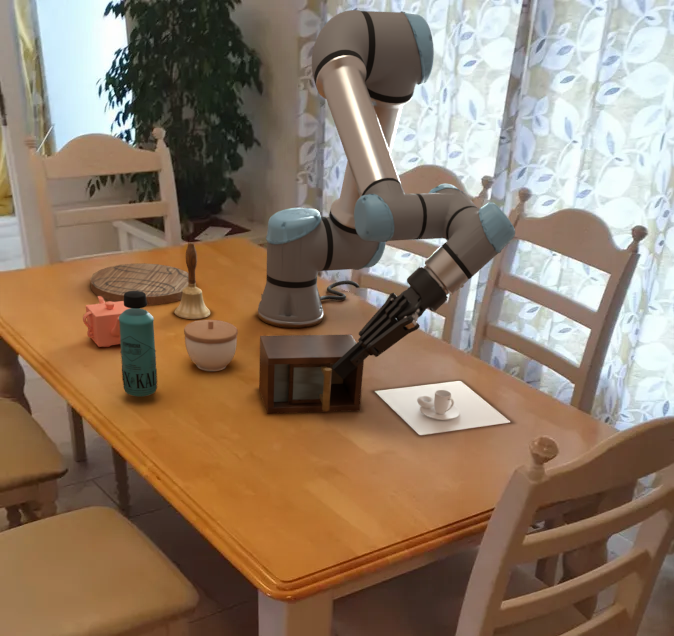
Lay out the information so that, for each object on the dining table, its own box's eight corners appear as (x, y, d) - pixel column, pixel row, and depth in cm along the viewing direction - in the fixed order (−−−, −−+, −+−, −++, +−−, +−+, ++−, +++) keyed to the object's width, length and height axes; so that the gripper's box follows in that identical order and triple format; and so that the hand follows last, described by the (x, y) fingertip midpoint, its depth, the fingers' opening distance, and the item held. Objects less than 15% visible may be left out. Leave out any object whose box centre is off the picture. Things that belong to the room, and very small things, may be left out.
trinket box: (228, 379, 183) (228, 333, 177) (178, 371, 184) (176, 326, 178) (243, 359, 191) (243, 315, 185) (195, 352, 192) (193, 308, 187)
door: (327, 401, 174) (330, 359, 169) (333, 413, 170) (335, 370, 165) (287, 402, 172) (289, 359, 167) (292, 414, 168) (294, 371, 163)
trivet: (111, 266, 233) (110, 259, 232) (205, 277, 232) (205, 269, 230) (75, 298, 213) (74, 290, 212) (178, 309, 212) (178, 301, 210)
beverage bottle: (125, 389, 176) (117, 286, 164) (160, 390, 176) (154, 287, 164) (121, 404, 170) (113, 298, 158) (157, 405, 171) (151, 299, 159)
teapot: (128, 325, 202) (125, 288, 197) (151, 350, 192) (149, 311, 187) (75, 332, 197) (71, 294, 192) (96, 357, 187) (92, 318, 182)
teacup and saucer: (410, 404, 178) (413, 385, 176) (445, 400, 181) (448, 381, 179) (431, 424, 172) (434, 404, 170) (467, 419, 175) (470, 399, 172)
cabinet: (347, 387, 183) (351, 334, 177) (359, 410, 175) (364, 356, 168) (259, 389, 180) (259, 335, 173) (267, 413, 171) (268, 358, 165)
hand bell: (216, 310, 213) (215, 240, 203) (200, 322, 206) (198, 250, 197) (184, 304, 215) (181, 234, 205) (168, 315, 208) (164, 244, 199)
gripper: (459, 308, 156) (358, 401, 163) (437, 283, 166) (342, 371, 173) (434, 277, 152) (331, 374, 158) (413, 253, 162) (317, 345, 169)
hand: (337, 372), depth 166 cm, fingers closed
